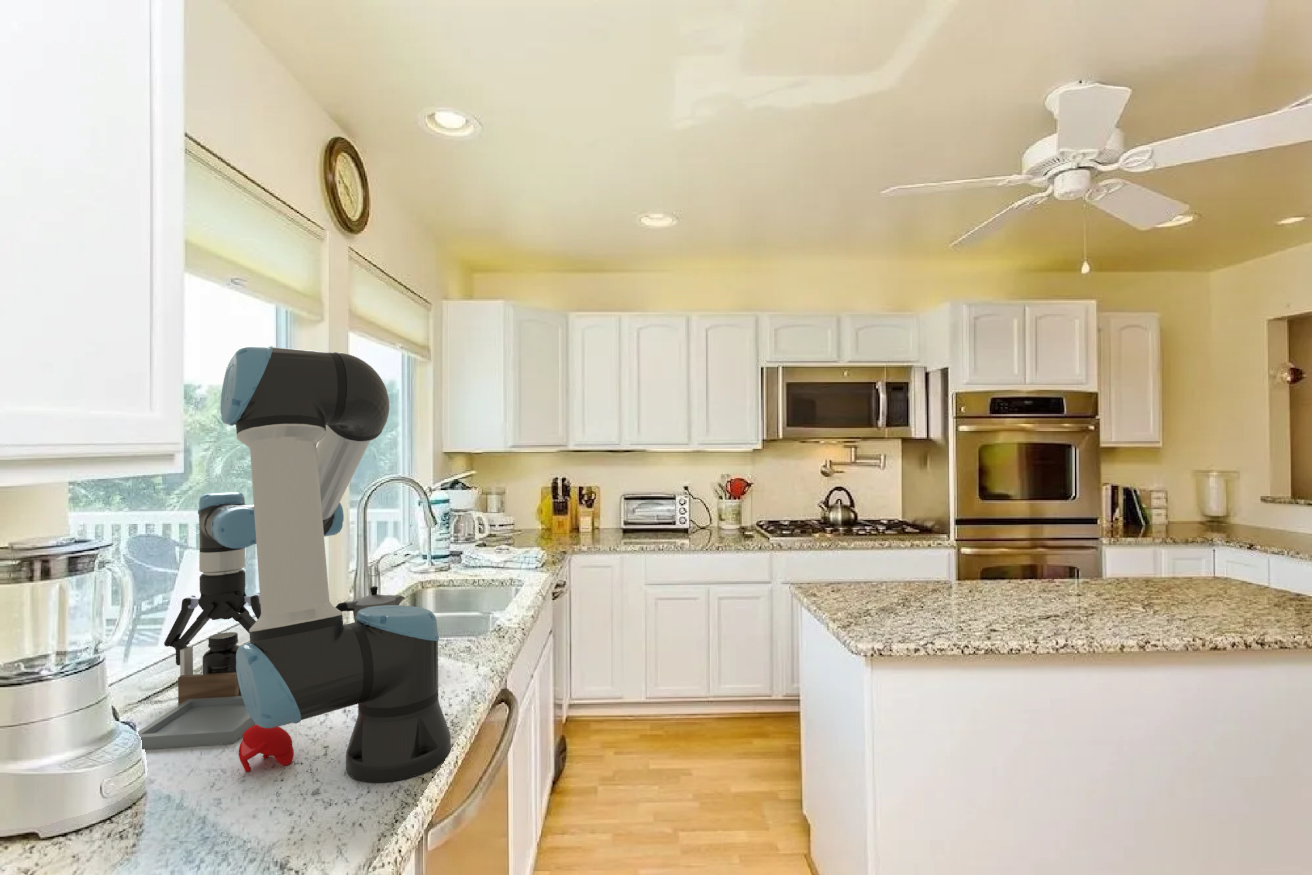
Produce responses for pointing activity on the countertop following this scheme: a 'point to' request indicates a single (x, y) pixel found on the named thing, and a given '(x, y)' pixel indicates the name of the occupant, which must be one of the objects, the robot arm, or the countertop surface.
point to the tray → (199, 724)
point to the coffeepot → (369, 602)
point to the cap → (266, 745)
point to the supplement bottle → (221, 654)
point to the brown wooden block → (207, 686)
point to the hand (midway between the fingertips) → (223, 679)
